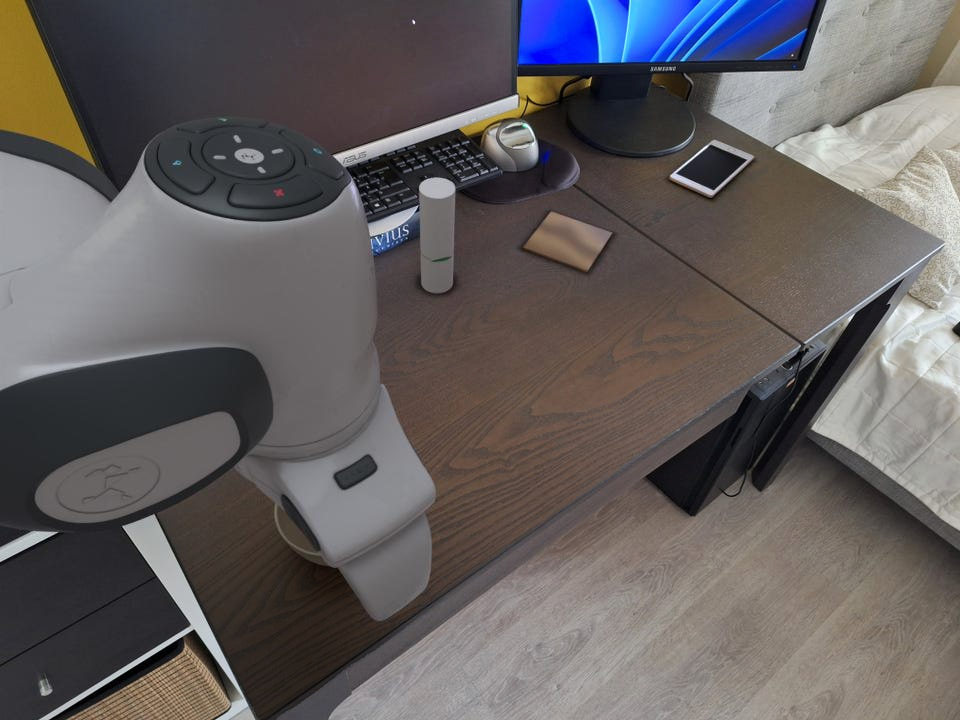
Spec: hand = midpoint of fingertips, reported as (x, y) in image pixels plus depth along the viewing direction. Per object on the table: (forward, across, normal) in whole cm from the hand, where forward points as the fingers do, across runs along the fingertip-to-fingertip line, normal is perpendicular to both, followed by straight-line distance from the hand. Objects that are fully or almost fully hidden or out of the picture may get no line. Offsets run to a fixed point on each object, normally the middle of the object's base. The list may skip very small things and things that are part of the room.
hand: (322, 517), depth 47 cm
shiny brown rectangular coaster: (+19, -26, +54) cm, 63 cm away
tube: (+20, -30, +33) cm, 49 cm away
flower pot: (+18, -6, +3) cm, 20 cm away
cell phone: (+19, -26, +87) cm, 93 cm away
